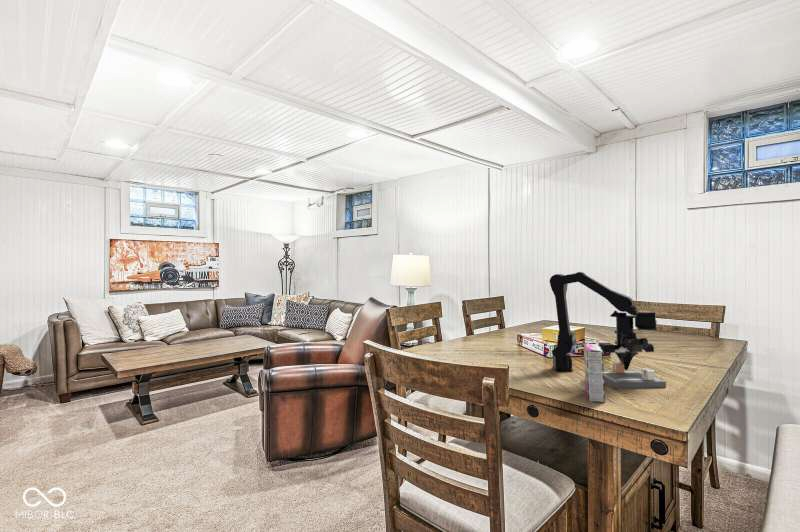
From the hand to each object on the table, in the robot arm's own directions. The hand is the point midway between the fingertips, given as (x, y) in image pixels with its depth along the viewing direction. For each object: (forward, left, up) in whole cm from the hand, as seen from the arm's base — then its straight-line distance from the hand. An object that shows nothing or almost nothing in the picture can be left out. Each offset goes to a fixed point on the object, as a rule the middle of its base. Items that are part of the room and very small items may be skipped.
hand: (625, 369), depth 152 cm
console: (-2, -5, -3) cm, 6 cm away
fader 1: (-3, 0, -1) cm, 3 cm away
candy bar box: (-22, -22, -3) cm, 32 cm away
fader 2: (+3, -10, -1) cm, 10 cm away
